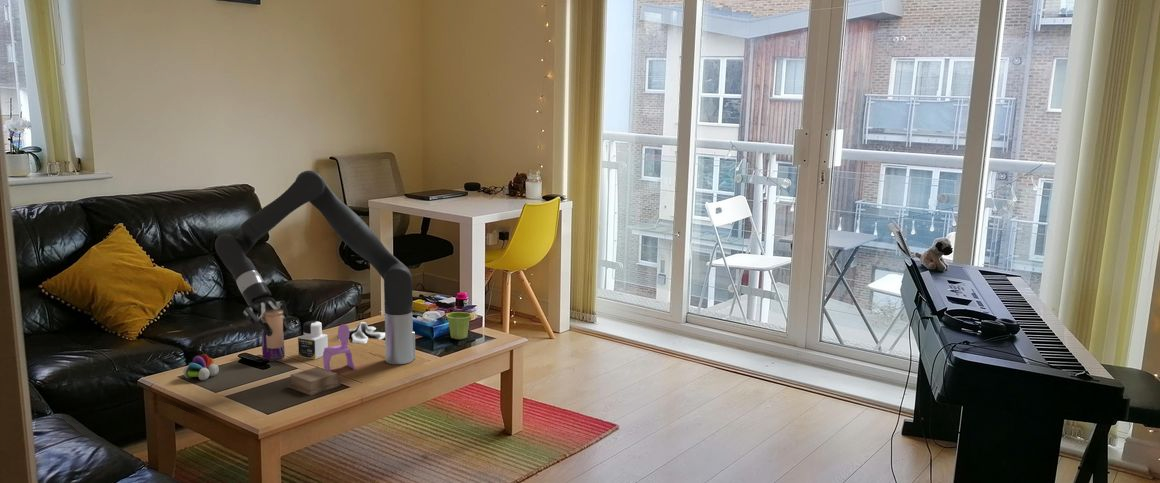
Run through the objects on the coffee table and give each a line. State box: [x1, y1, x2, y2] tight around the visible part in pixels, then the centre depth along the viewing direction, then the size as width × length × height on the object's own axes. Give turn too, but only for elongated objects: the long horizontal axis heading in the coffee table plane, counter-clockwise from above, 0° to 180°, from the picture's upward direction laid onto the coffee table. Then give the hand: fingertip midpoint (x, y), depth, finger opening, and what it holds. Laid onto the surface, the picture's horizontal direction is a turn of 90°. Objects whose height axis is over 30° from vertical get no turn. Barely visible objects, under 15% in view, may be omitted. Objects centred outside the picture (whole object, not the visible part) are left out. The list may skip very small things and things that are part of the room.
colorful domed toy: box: [182, 353, 220, 381], centre depth 274 cm, size 8×10×7 cm
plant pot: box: [445, 311, 472, 340], centre depth 322 cm, size 9×9×9 cm
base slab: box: [287, 366, 342, 396], centre depth 267 cm, size 11×11×4 cm
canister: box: [264, 309, 285, 349], centre depth 263 cm, size 5×5×11 cm
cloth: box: [338, 321, 385, 345], centre depth 321 cm, size 22×19×6 cm
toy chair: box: [322, 323, 356, 371], centre depth 282 cm, size 8×9×15 cm
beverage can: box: [261, 328, 286, 362], centre depth 292 cm, size 7×7×12 cm
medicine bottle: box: [297, 320, 329, 360], centre depth 297 cm, size 7×7×12 cm
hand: (278, 332), depth 262 cm, fingers closed on canister, 5 cm apart
